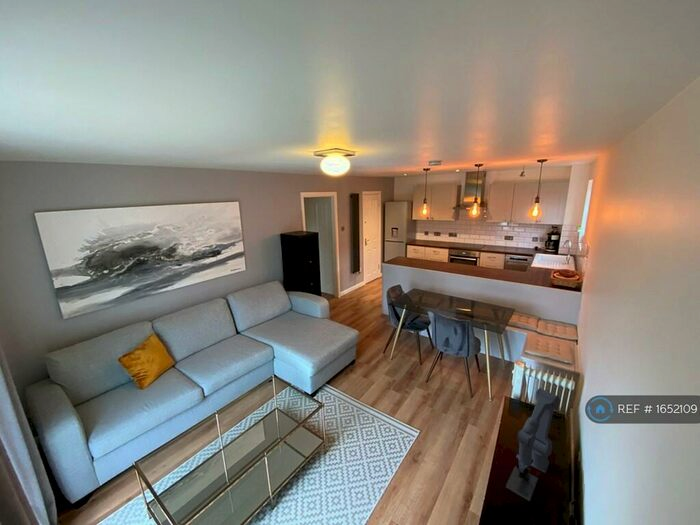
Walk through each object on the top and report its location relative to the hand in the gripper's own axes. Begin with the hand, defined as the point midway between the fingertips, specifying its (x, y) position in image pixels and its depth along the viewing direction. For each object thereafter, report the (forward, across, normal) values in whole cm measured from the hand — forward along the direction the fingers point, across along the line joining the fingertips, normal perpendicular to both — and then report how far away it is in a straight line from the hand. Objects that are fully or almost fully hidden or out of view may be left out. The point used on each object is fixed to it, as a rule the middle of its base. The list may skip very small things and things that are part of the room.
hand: (524, 474), depth 155 cm
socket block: (+3, +4, 0) cm, 5 cm away
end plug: (+2, 0, 0) cm, 2 cm away
